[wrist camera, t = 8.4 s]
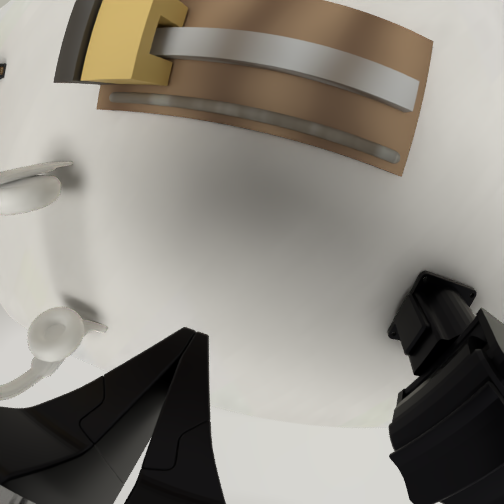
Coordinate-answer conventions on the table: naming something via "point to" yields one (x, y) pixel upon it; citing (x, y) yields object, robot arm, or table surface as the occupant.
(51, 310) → the headset
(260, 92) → the rail board
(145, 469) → the robot arm
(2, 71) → the ammunition clip
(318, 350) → the table surface
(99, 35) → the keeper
